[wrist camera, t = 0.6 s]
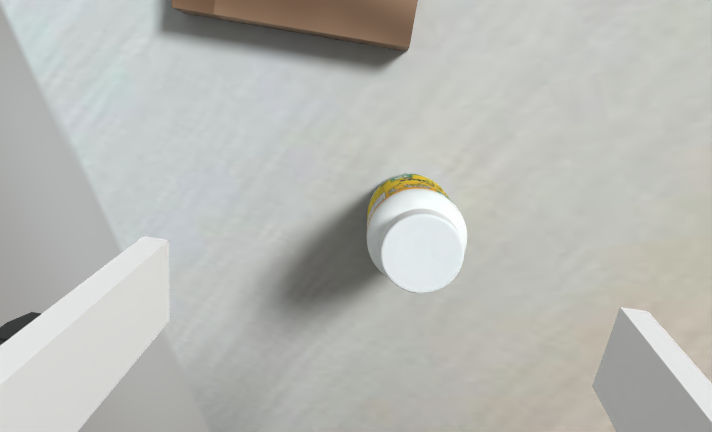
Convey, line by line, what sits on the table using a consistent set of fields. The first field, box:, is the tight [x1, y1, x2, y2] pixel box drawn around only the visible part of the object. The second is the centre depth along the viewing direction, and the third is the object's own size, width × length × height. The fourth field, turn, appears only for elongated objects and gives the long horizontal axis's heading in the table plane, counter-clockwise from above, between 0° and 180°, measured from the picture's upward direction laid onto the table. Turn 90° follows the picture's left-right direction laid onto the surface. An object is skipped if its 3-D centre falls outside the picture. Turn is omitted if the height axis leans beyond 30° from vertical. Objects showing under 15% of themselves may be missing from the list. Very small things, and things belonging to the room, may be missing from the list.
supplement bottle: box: [367, 173, 467, 293], centre depth 28 cm, size 5×5×10 cm
